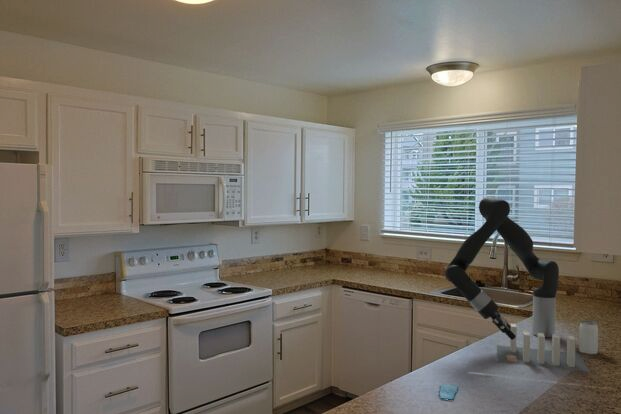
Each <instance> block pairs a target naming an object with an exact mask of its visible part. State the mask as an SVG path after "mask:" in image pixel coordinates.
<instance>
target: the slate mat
mask: <svg viewBox="0 0 621 414" xmlns="http://www.w3.org/2000/svg"><path fill="white" fill-rule="evenodd" d="M496 354H497V363H504V364H514V365H522V366H532V367H541V368H550V369H559V370H560V369H561V370H569V371H579V372H587V373H589V372H590V371H589V369H588V367H587V366H586V364H585V362H584V360H583V358H582V357H581V355H580V353H578V352H575V367H569V366H568V364H567V351H560V364H559V365H553V363H552V350H549V349H545V358H544V364H540V363H538V360H537V348H530V362H524V361H523V347H520V346H519V347H517V346H516V352H511V351H510V345H509V346H507V345H498V344H497V345H496Z"/></svg>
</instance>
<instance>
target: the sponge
mask: <svg viewBox="0 0 621 414" xmlns="http://www.w3.org/2000/svg"><path fill="white" fill-rule="evenodd" d="M439 389H440V391H439V390H438V397H439V396H440V397H439V399H440V398H441V399H448V400H453V399H455V398H454V396H455V397H456V395H455V394H457V392H458V390H459V386H457V385H452V384H444V383H443V384H440V386H439ZM457 389H458V390H457ZM456 391H457V392H456ZM448 400H447V401H448ZM453 401H454V400H453Z"/></svg>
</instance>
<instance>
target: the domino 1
mask: <svg viewBox="0 0 621 414" xmlns="http://www.w3.org/2000/svg"><path fill="white" fill-rule="evenodd" d="M510 326H511V331H512V332H513V333H514V334H515V336H516V338H514V339H513V340H511V339H510V338H509V339H510V341H509V342H510V343H509V347H510V351H511V352H516V347H517V334H518V333H517V331H518V330H517V327H518V326H517V324H516V323H510Z"/></svg>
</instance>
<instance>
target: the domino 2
mask: <svg viewBox="0 0 621 414" xmlns="http://www.w3.org/2000/svg"><path fill="white" fill-rule="evenodd" d="M522 334H523V335H522V348H523V361H524V362H530V349H531V333H530V332H529V331H523V333H522Z"/></svg>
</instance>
